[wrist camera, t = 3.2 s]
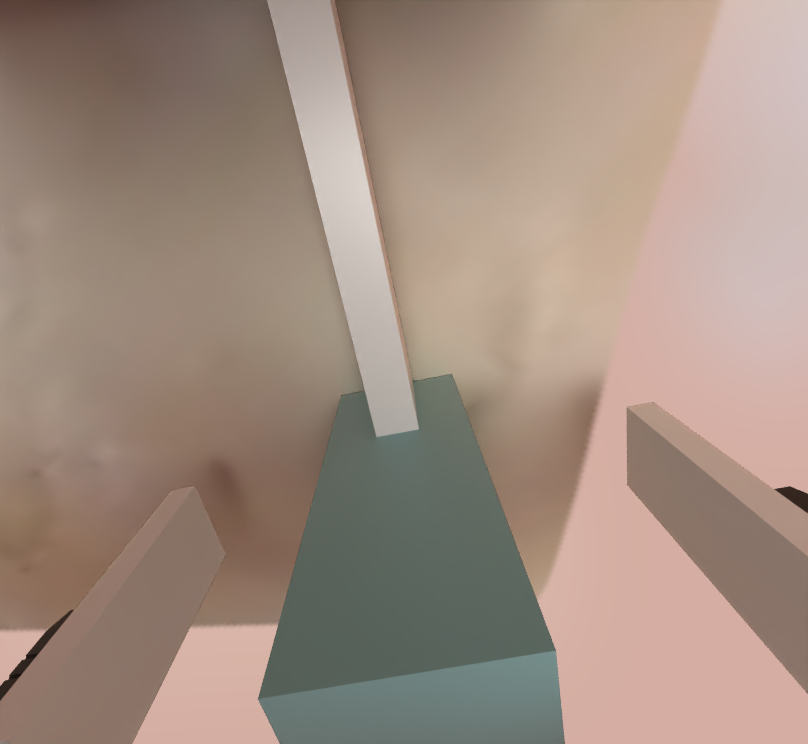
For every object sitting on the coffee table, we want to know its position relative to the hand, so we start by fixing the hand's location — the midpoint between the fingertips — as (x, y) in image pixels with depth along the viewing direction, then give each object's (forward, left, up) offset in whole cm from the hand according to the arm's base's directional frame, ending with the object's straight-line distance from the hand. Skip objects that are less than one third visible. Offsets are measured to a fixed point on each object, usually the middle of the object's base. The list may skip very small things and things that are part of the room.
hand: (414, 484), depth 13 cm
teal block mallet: (0, +6, -3) cm, 7 cm away
